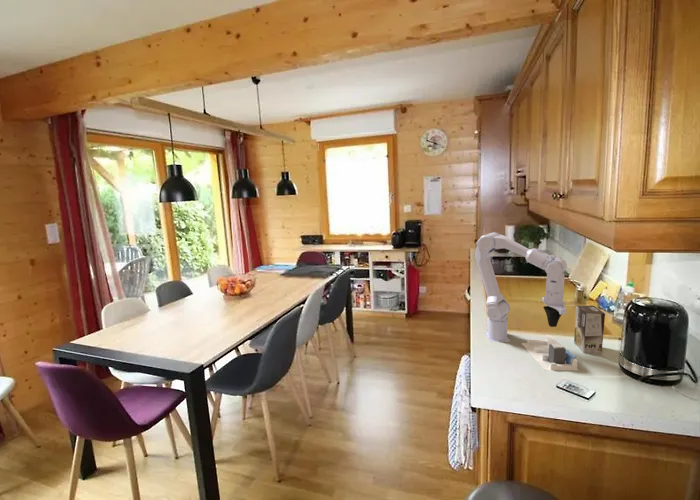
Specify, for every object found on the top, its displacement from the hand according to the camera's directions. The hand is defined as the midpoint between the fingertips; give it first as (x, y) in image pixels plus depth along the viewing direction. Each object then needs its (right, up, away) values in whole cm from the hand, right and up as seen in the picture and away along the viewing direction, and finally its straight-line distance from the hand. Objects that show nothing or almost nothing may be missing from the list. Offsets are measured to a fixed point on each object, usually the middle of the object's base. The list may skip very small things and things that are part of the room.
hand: (552, 326), depth 134 cm
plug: (-3, -12, -8) cm, 14 cm away
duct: (-3, -11, -2) cm, 11 cm away
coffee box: (+15, -10, +3) cm, 18 cm away
